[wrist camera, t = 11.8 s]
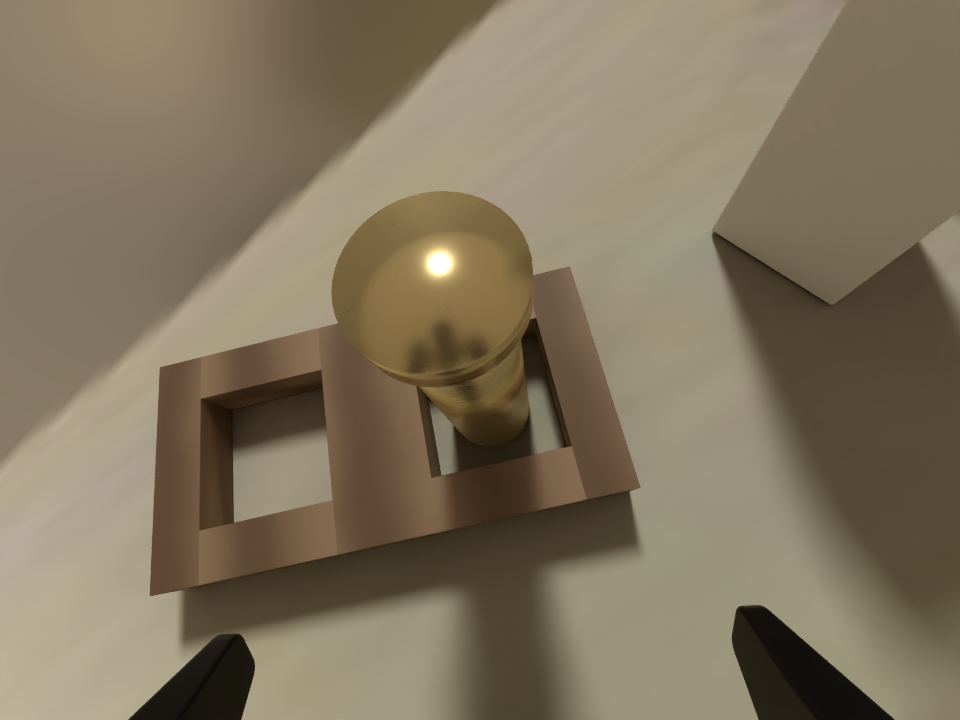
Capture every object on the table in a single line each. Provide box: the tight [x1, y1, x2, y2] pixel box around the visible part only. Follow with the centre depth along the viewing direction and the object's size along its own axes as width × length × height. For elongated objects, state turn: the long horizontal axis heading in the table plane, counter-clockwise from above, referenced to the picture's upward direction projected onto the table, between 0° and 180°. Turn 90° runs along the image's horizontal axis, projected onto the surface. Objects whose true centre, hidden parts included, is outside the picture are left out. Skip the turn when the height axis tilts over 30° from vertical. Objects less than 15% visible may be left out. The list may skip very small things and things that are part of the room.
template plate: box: [150, 267, 640, 596], centre depth 23 cm, size 22×11×2 cm, turn 102°
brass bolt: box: [332, 191, 534, 447], centre depth 18 cm, size 5×5×14 cm
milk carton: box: [712, 0, 960, 305], centre depth 16 cm, size 7×7×19 cm
